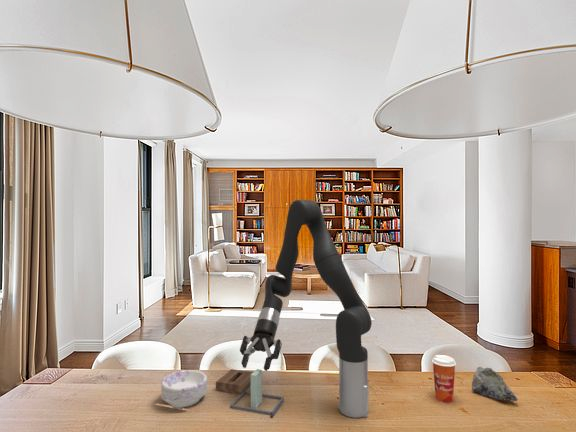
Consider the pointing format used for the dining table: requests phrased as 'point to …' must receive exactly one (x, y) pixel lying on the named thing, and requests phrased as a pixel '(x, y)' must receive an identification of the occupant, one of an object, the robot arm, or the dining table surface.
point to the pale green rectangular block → (256, 388)
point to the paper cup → (444, 377)
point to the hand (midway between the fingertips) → (254, 368)
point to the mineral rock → (491, 385)
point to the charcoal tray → (258, 409)
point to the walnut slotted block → (234, 381)
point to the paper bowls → (184, 388)
